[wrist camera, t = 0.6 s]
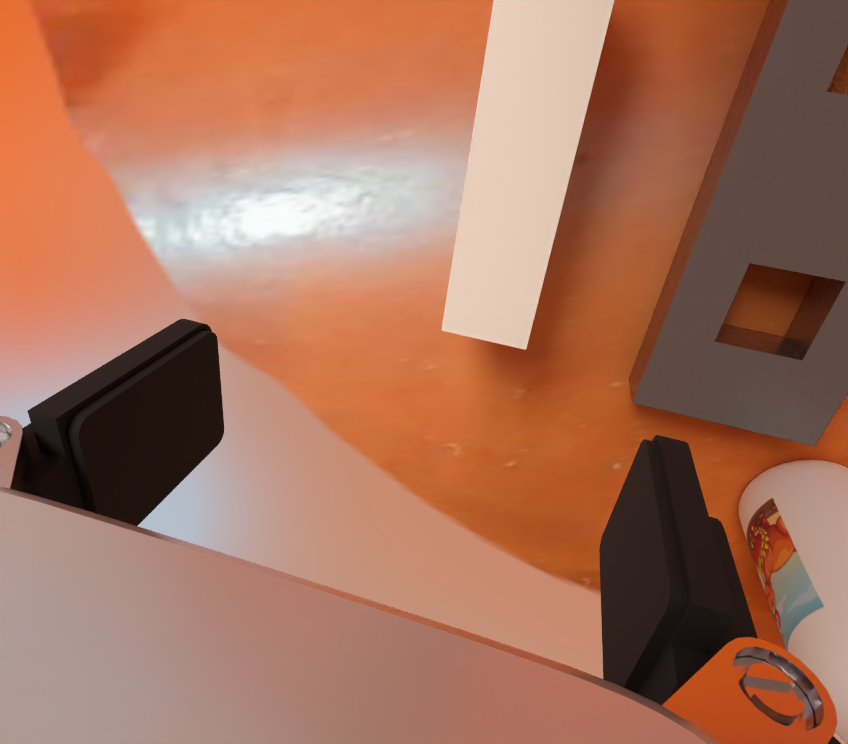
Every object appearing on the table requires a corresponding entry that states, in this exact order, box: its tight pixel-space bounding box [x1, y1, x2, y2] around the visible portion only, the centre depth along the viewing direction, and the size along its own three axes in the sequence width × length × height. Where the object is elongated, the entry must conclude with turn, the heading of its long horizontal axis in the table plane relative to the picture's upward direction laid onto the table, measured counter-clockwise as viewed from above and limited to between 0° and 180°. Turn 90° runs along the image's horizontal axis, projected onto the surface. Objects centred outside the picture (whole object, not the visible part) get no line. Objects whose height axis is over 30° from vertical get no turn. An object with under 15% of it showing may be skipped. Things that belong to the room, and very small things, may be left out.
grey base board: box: [629, 0, 848, 446], centre depth 26 cm, size 26×10×3 cm, turn 173°
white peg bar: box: [442, 0, 614, 350], centre depth 26 cm, size 18×4×8 cm, turn 173°
